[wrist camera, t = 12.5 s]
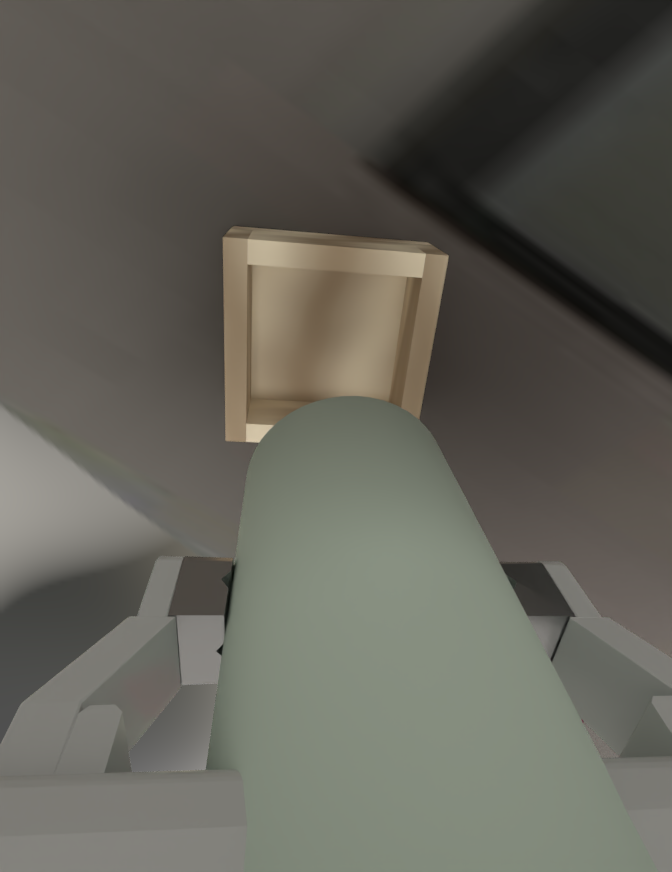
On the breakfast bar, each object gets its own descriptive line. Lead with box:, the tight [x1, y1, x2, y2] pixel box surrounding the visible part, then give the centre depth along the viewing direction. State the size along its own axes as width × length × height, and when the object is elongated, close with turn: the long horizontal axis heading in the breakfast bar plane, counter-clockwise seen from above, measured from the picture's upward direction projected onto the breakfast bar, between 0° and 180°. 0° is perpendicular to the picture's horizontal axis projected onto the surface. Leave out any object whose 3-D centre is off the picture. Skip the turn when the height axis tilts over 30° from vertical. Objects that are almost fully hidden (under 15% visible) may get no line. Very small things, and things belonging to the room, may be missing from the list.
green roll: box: [206, 396, 658, 872], centre depth 10 cm, size 6×6×10 cm
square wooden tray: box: [223, 226, 449, 442], centre depth 26 cm, size 10×10×4 cm
